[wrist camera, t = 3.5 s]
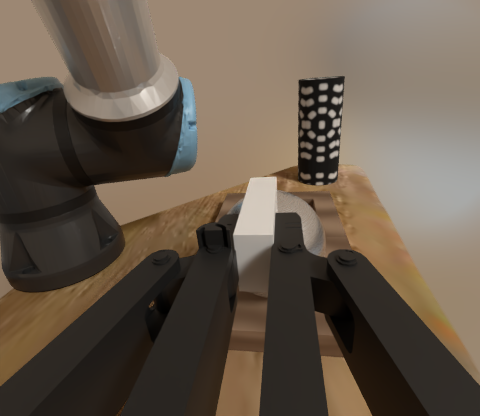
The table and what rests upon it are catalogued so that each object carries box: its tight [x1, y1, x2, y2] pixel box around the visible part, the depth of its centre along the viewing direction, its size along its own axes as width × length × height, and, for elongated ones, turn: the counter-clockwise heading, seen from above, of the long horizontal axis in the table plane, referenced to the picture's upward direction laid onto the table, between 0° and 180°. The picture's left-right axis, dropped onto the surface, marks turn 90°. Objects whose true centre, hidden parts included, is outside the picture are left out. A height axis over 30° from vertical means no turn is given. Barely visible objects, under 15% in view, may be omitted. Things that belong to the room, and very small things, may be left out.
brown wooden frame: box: [215, 191, 352, 357], centre depth 37 cm, size 30×18×2 cm, turn 172°
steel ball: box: [227, 190, 326, 297], centre depth 27 cm, size 10×10×10 cm
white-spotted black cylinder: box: [298, 76, 345, 185], centre depth 57 cm, size 8×8×20 cm
